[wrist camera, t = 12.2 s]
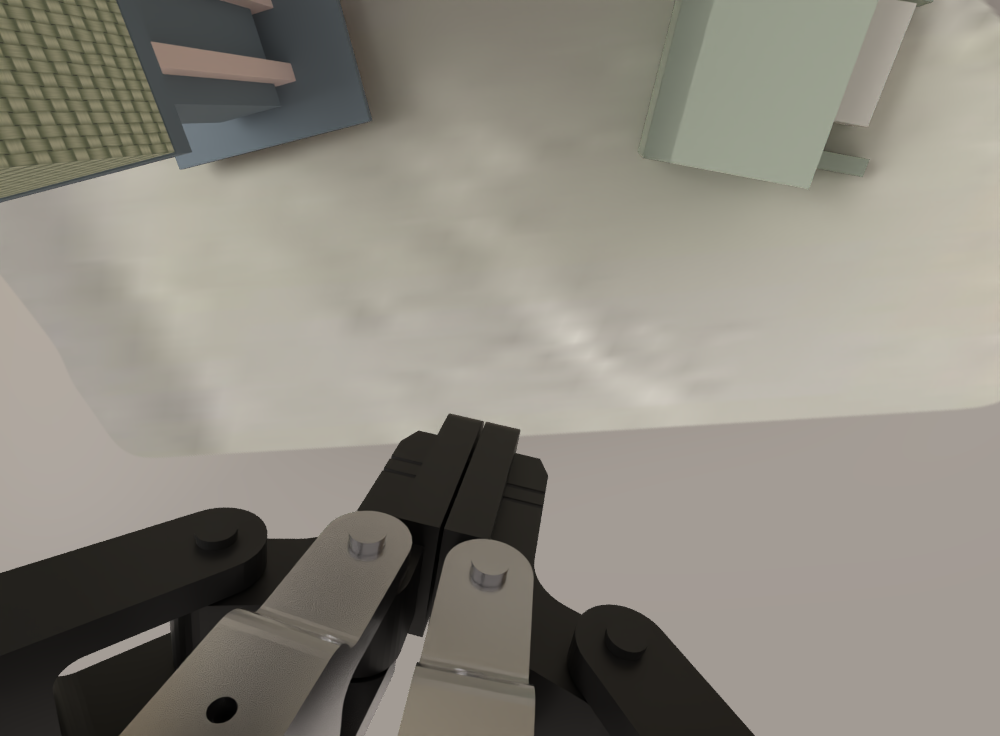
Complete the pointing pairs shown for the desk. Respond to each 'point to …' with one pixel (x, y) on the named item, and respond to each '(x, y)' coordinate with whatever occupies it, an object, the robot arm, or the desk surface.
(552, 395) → the desk surface
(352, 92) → the desk lamp
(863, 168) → the shelf
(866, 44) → the cover plate
